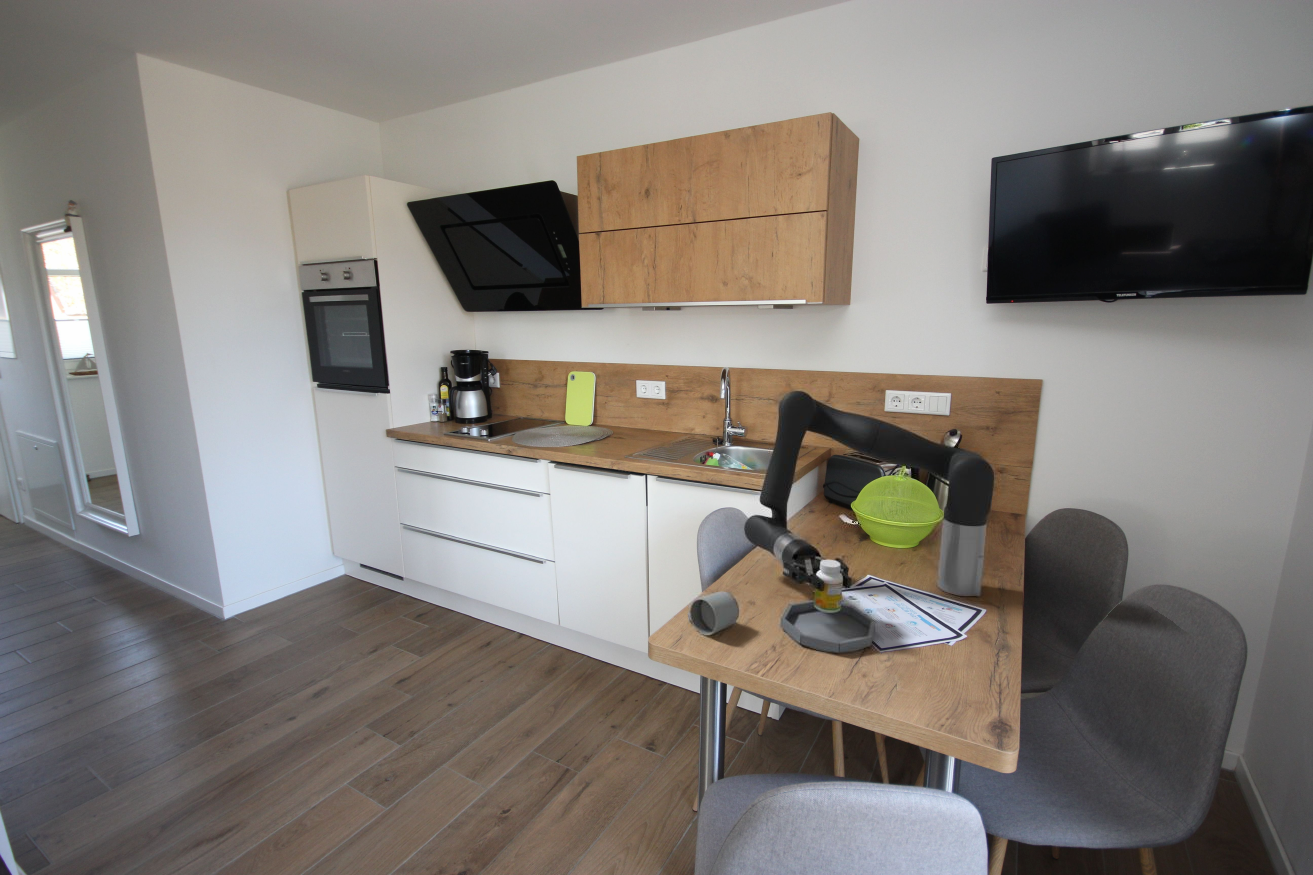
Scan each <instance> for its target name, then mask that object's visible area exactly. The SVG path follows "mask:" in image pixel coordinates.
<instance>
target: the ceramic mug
mask: <svg viewBox="0 0 1313 875" xmlns="http://www.w3.org/2000/svg"><path fill="white" fill-rule="evenodd" d="M739 616H740V606H739V603H738V601H737V599H736V598H735V596H734V595H732V594H731V593H730V592H728V591H717V592H714V593H711V594H707V595H704V596H700V597H698V598H695V599H694V600H693V601H692V602H691V604H690V608H689V611H688V612H687V618H688V621H689V622H691V623H692V625H693V627H694V629H695V630H696V631H697V632H698V633H699V634H701V635H703V636H712V635H714V634H715V633H718V632H720V631H722V630H724V629H726V628H728V627H729V628H730V626H732V625H734V624H735V622H737V621H738V618H739Z"/></svg>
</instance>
